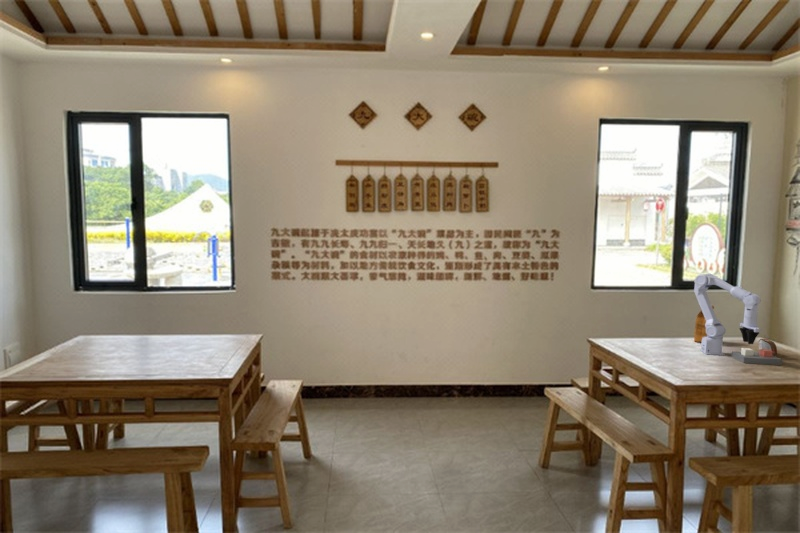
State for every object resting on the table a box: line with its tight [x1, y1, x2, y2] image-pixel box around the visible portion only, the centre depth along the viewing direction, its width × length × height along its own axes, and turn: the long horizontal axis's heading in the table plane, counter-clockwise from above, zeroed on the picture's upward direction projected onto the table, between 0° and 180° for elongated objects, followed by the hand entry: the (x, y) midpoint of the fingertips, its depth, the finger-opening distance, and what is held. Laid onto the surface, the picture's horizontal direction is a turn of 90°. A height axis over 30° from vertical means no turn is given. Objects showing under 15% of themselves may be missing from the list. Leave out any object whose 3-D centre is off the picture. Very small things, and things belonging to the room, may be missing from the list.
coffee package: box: [693, 305, 715, 343], centre depth 304 cm, size 10×12×22 cm
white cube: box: [740, 347, 755, 356], centre depth 266 cm, size 4×4×4 cm
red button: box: [758, 349, 773, 357], centre depth 265 cm, size 4×4×4 cm
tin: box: [758, 338, 778, 357], centre depth 278 cm, size 15×3×8 cm, turn 168°
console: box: [731, 351, 783, 366], centre depth 266 cm, size 18×12×3 cm, turn 83°
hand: (748, 342), depth 266 cm, fingers open, 4 cm apart
